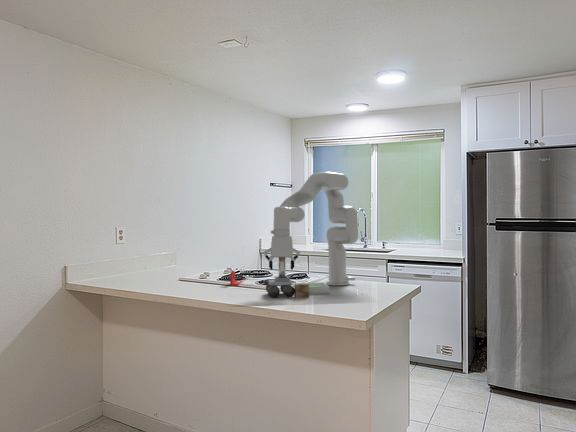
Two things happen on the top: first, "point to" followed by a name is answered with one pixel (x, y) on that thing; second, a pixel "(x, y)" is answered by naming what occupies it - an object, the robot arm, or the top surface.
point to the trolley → (285, 287)
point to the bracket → (233, 279)
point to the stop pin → (282, 267)
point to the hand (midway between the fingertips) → (281, 269)
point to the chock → (301, 290)
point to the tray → (317, 288)
